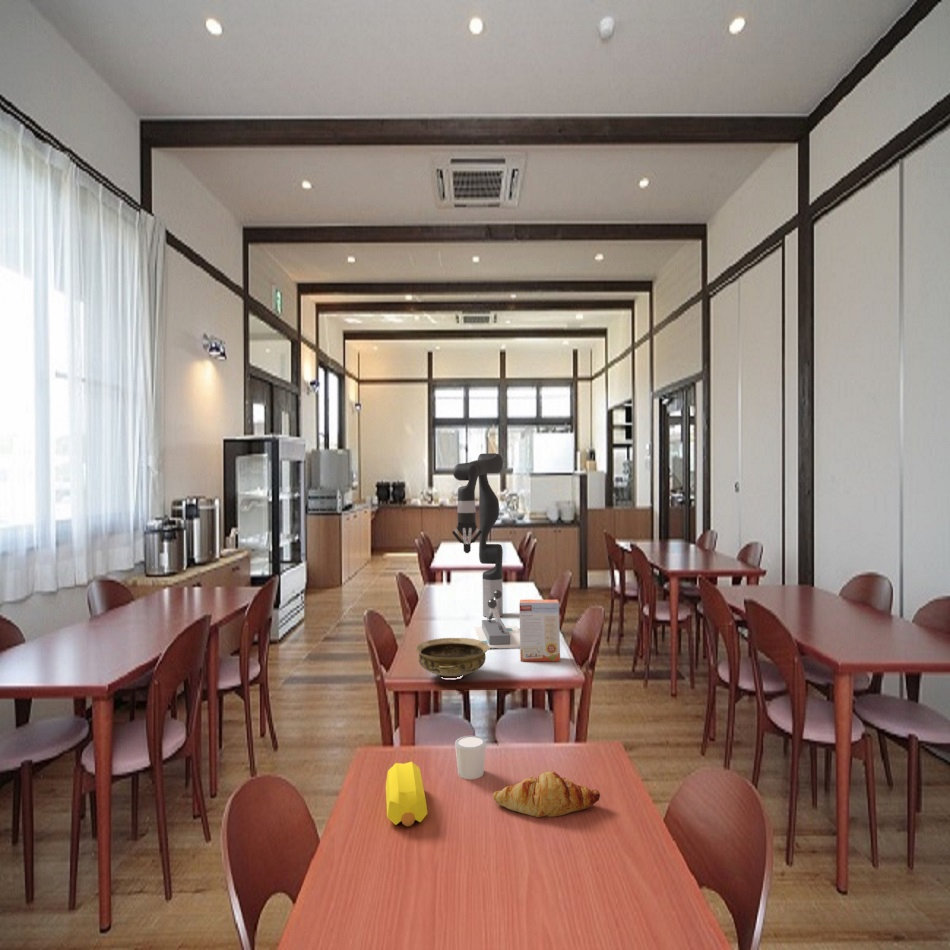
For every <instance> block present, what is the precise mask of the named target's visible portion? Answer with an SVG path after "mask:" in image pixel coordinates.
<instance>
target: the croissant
mask: <svg viewBox="0 0 950 950" xmlns="http://www.w3.org/2000/svg"><path fill="white" fill-rule="evenodd" d="M492 798H493V801H494V802H495V803H496V804H498V805H499V806H501V807H504V808H506V809H508V810H511V811H513V812H517V813H519V814H525V815H528V816H531V817H536V818H540V817H541V818H542V817H547V818H548V817H552V818H553V817H559V816H564V815H566V814H570V813H574V812H579V811H582V810H584V809H588V808H590V807H592V806H593V805H594V804H595V803H597V802H598V801H600V798H601V793H600V792H599V790H597V789H589V788H588V786H586V785H583V784H579V785H577V784H576V783H574V782H573V781H572V779H571V780H570V779H567V778H566V777H561V775H560V774H559V773H558V772H555V771H549V770H547V771H544V772H542V773H540V774H539V775H538V776H537V777H536V776H532V777H527V778H524V779H523V780H522V781H521V782H517V783H516V784H509V785H507V786H505V787H504V788H503V789H502V790H496V791H494V793H492Z"/></svg>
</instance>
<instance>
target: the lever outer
mask: <svg viewBox="0 0 950 950" xmlns="http://www.w3.org/2000/svg"><path fill="white" fill-rule="evenodd" d="M496 606H497V602H496V600H494V599H490V600H489V601H488V607H489V608H491V609H492V612H493V614H494V617H493V618H494V620H496V622H497V625H498V628H499V630H501V632H502V633H504V626H505V625H504V626H503V624H504V623H503V624H502V622H503V621H502V618H501V617H500V616H499V613H498V610H497V608H496Z"/></svg>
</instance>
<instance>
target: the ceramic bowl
mask: <svg viewBox="0 0 950 950" xmlns="http://www.w3.org/2000/svg"><path fill="white" fill-rule="evenodd" d="M414 650H415V651H416V652H417V653H418V663H419V665H420V666H421V667H422V668H423V669H424V670H426V671H428V672H430V673H431V674H435V675H438V676H440V677H443V678H457V677H460V676H462V675H464V676H465V675H469V674H471V673H474V672H476V671H478V670H479V669H481V668H482V667H483V665H484V664H485V662H486V658H487V657H486V652H487V651H488V650H490V649H489V646H488V644H486V643H484V642H482V641H480V640H478V639H475V638H468V637H442V638H433V639H429V640H425V641H422V642H420V643H418V644H416V645H415V649H414ZM440 677H439V678H440Z"/></svg>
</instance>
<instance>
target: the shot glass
mask: <svg viewBox="0 0 950 950" xmlns="http://www.w3.org/2000/svg"><path fill="white" fill-rule="evenodd" d="M486 746H487V741H486V740H485V739H484V738H483V737H482V736H481V737H480V736H478V735H464V736H461V737H459V738H457V739H455V742H454V747H455V755H456V756H455V757H456V765H457V775H458V777H460V778H462V779H463V780H464V779H465V780H477V779H479V778H481V777H483V775H484V773H485V761H486V760H485V759H486Z"/></svg>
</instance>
